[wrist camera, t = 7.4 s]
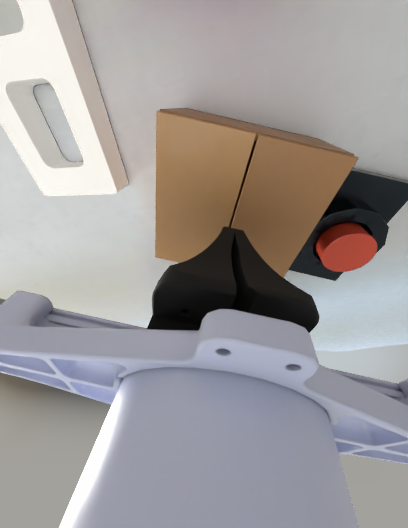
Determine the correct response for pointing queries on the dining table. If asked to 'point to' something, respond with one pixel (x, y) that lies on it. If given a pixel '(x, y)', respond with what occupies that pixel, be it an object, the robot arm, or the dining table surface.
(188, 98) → the dining table surface
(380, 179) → the block
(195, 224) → the flap
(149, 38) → the dining table surface
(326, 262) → the button
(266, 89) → the dining table surface
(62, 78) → the holder
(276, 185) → the carton
